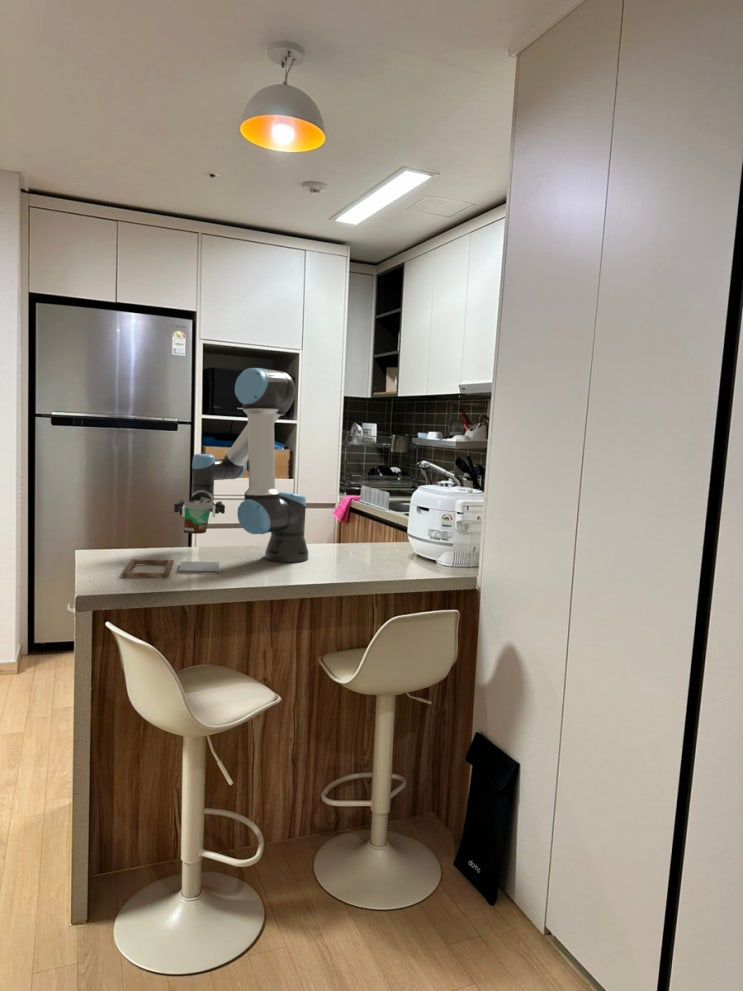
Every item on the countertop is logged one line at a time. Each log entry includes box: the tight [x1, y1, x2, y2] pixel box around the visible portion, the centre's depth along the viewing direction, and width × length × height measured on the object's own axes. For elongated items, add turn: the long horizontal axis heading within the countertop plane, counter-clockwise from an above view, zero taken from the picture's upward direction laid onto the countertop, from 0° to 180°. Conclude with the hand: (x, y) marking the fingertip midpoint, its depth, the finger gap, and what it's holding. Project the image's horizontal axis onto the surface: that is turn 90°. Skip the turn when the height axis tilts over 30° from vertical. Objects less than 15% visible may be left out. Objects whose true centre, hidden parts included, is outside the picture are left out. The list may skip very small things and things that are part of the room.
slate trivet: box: [177, 561, 220, 574], centre depth 219 cm, size 12×12×1 cm
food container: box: [183, 497, 213, 535], centre depth 216 cm, size 12×6×10 cm, turn 170°
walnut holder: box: [121, 558, 175, 579], centre depth 213 cm, size 13×19×2 cm
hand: (198, 512), depth 212 cm, fingers closed on food container, 8 cm apart
